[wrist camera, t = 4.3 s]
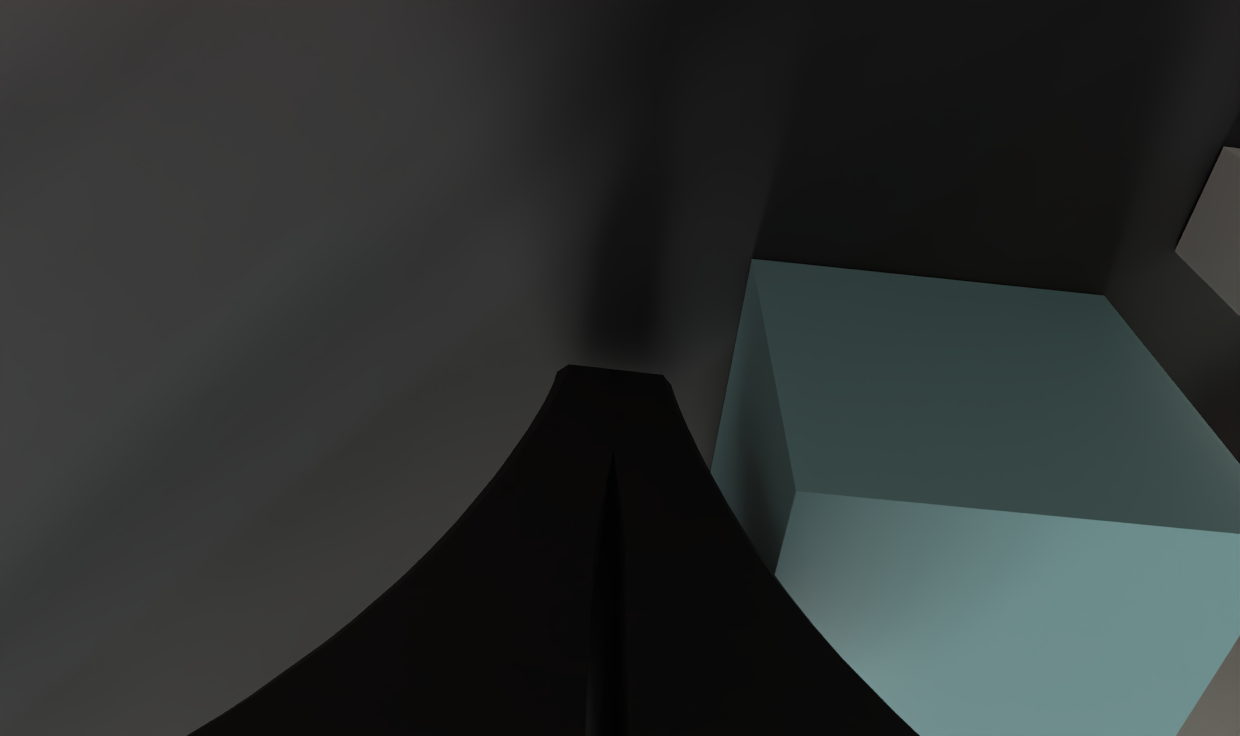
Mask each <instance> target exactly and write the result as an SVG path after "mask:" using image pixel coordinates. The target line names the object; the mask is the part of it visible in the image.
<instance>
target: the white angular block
mask: <svg viewBox="0 0 1240 736" xmlns="http://www.w3.org/2000/svg"><path fill="white" fill-rule="evenodd" d="M1175 252H1176V253H1177V254H1178V255H1179V256H1180V257H1181V258H1182V259H1183V260H1184V261H1185V262H1186V263H1187V264H1188V265H1189V266H1190V267H1191V268H1192V269H1193V270H1194V271H1195V272H1196V273H1197V274H1198V275H1199V276H1200V277H1201V278H1202V279H1203V280H1204V281H1205V282H1206V283H1207V284H1208V285H1209V286H1210V287H1211V288H1212V289H1213V290H1214V291H1215V292H1216V293H1217V294H1218V295H1219V296H1220V297H1221V298H1222V299H1223V300H1224V301H1225V302H1226V303H1227V304H1228V305H1229V306H1230V307H1231V308H1232V309H1233V310H1234V311H1235V312H1236V313H1237V314H1238V315H1239V316H1240V149H1239V148H1232V147H1223V149H1222V151H1221V153H1220V155H1219V158H1218V160H1217V162H1216V164H1215V166H1214V168H1213V170H1212V173H1211V175H1210V177H1209V179H1208V181H1207V183H1206V185H1205V187H1204V190H1203V192H1202V194H1201V196H1200V198H1199V200H1198V202H1197V205H1196V207H1195V209H1194V211H1193V213H1192V215H1191V217H1190V220H1189V222H1188V224H1187V226H1186V228H1185V230H1184V232H1183V235H1182V237H1181V239H1180V241H1179V243H1178V245H1177V247H1176V250H1175ZM1176 736H1240V636H1239V638H1238V639H1237V641H1236V642H1235V644H1234V645H1233V647H1232V649H1231V650H1230V652H1229V653H1228V655H1227V656H1226V658H1225V660H1224V661H1223V663H1222V664H1221V666H1220V667H1219V669H1218V671H1217V672H1216V674H1215V675H1214V677H1213V678H1212V680H1211V682H1210V683H1209V685H1208V686H1207V688H1206V689H1205V691H1204V692H1203V694H1202V696H1201V697H1200V699H1199V700H1198V702H1197V703H1196V705H1195V707H1194V708H1193V710H1192V711H1191V713H1190V714H1189V716H1188V718H1187V719H1186V721H1185V722H1184V724H1183V725H1182V727H1181V729H1180V730H1179V732H1178V733H1177V735H1176Z"/></svg>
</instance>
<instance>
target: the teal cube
mask: <svg viewBox="0 0 1240 736" xmlns="http://www.w3.org/2000/svg"><path fill="white" fill-rule="evenodd" d="M710 473H711V474H712V476H713V478H714V480H715V482H716V483H717V485H718V487H719V489H720V490H721V492H722V494H723V496H724V498H725V499H726V501H727V503H728V505H729V506H730V508H731V510H732V511H733V513H734V514H735V516H736V518H737V519H738V521H739V523H740V524H741V526H742V527H743V529H744V530H745V532H746V534H747V535H748V537H749V538H750V540H751V541H752V543H753V544H754V546H755V547H756V549H757V550H758V552H759V553H760V555H761V556H762V558H763V559H764V561H765V562H766V563H767V565H768V566H769V568H770V569H771V570H772V572H773V573H774V575H775V576H776V577H777V579H778V580H779V581H780V583H781V584H782V586H783V587H784V588H785V590H786V591H787V592H788V594H789V595H790V596H791V597H792V599H793V600H794V601H795V602H796V604H797V605H798V606H799V607H800V609H801V610H802V611H803V612H804V614H805V615H806V616H807V617H808V619H809V620H810V621H811V622H812V624H813V625H814V626H815V627H816V629H817V630H818V631H819V632H820V633H821V634H822V635H823V637H824V638H825V639H826V640H827V641H828V642H829V644H830V645H831V646H832V647H833V648H834V649H835V650H836V652H837V653H838V654H839V655H840V656H841V657H842V658H843V659H844V660H845V661H846V662H847V663H848V664H849V666H850V667H851V668H852V669H853V670H854V671H855V672H856V673H857V674H858V675H859V676H860V677H861V678H862V679H863V680H864V681H865V682H866V683H867V684H868V685H869V686H870V687H871V688H872V689H873V690H874V691H875V692H876V693H877V694H878V695H879V696H880V697H881V698H882V699H883V700H884V701H885V702H886V703H887V704H888V705H889V706H890V708H891V709H892V710H893V711H894V712H895V713H896V714H898V715H899V716H900V717H901V718H902V719H903V720H904V721H905V722H906V723H907V724H908V725H909V726H910V727H911V728H912V729H913V730H914V731H915V732H917V733H918V734H919V735H920V736H1176V735H1177V733H1178V732H1179V730H1180V729H1181V727H1182V725H1183V724H1184V722H1185V721H1186V719H1187V718H1188V716H1189V714H1190V713H1191V711H1192V710H1193V708H1194V707H1195V705H1196V703H1197V702H1198V700H1199V699H1200V697H1201V696H1202V694H1203V692H1204V691H1205V689H1206V688H1207V686H1208V685H1209V683H1210V682H1211V680H1212V678H1213V677H1214V675H1215V674H1216V672H1217V671H1218V669H1219V667H1220V666H1221V664H1222V663H1223V661H1224V660H1225V658H1226V656H1227V655H1228V653H1229V652H1230V650H1231V649H1232V647H1233V645H1234V644H1235V642H1236V641H1237V639H1238V638H1239V636H1240V464H1239V463H1238V461H1237V460H1236V459H1235V458H1234V456H1233V455H1232V454H1231V453H1230V451H1229V450H1228V449H1227V448H1226V446H1225V445H1224V444H1223V443H1222V441H1221V440H1220V439H1219V438H1218V436H1217V435H1216V434H1215V433H1214V431H1213V430H1212V429H1211V428H1210V426H1209V425H1208V424H1207V423H1206V422H1205V420H1204V419H1203V418H1202V417H1201V415H1200V414H1199V413H1198V412H1197V410H1196V409H1195V408H1194V407H1193V405H1192V404H1191V403H1190V402H1189V400H1188V399H1187V398H1186V397H1185V395H1184V394H1183V393H1182V392H1181V390H1180V389H1179V388H1178V387H1177V385H1176V384H1175V383H1174V382H1173V380H1172V379H1171V378H1170V377H1169V375H1168V374H1167V373H1166V372H1165V370H1164V369H1163V368H1162V367H1161V366H1160V364H1159V363H1158V362H1157V361H1156V359H1155V358H1154V357H1153V356H1152V354H1151V353H1150V352H1149V351H1148V349H1147V348H1146V347H1145V346H1144V344H1143V343H1142V342H1141V341H1140V339H1139V338H1138V337H1137V336H1136V334H1135V333H1134V332H1133V331H1132V329H1131V328H1130V327H1129V326H1128V324H1127V323H1126V322H1125V321H1124V319H1123V318H1122V317H1121V316H1120V315H1119V313H1118V312H1117V311H1116V310H1115V308H1114V307H1113V306H1112V305H1111V303H1110V302H1109V301H1108V300H1107V298H1106V297H1105V296H1103V295H1094V294H1084V293H1075V292H1065V291H1055V290H1046V289H1036V288H1027V287H1017V286H1008V285H998V284H988V283H979V282H969V281H960V280H950V279H940V278H931V277H921V276H912V275H902V274H892V273H883V272H873V271H864V270H854V269H844V268H835V267H825V266H816V265H806V264H797V263H787V262H777V261H768V260H758V259H752V260H751V265H750V271H749V276H748V281H747V286H746V291H745V296H744V302H743V307H742V312H741V317H740V322H739V327H738V333H737V338H736V343H735V348H734V353H733V358H732V364H731V369H730V374H729V379H728V384H727V389H726V394H725V400H724V405H723V410H722V415H721V420H720V425H719V431H718V436H717V441H716V446H715V451H714V456H713V462H712V467H711V472H710Z"/></svg>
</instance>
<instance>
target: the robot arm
mask: <svg viewBox="0 0 1240 736" xmlns="http://www.w3.org/2000/svg"><path fill="white" fill-rule="evenodd" d="M187 736H920V735H919V734H918V733H917V732H915V731H914V730H913V729H912V728H911V727H910V726H909V725H908V724H907V723H906V722H905V721H904V720H903V719H902V718H901V717H900V716H899V715H898V714H896V713H895V712H894V711H893V710H892V709H891V708H890V706H889V705H888V704H887V703H886V702H885V701H884V700H883V699H882V698H881V697H880V696H879V695H878V694H877V693H876V692H875V691H874V690H873V689H872V688H871V687H870V686H869V685H868V684H867V683H866V682H865V681H864V680H863V679H862V678H861V677H860V676H859V675H858V674H857V673H856V672H855V671H854V670H853V669H852V668H851V667H850V666H849V664H848V663H847V662H846V661H845V660H844V659H843V658H842V657H841V656H840V655H839V654H838V653H837V652H836V650H835V649H834V648H833V647H832V646H831V645H830V644H829V642H828V641H827V640H826V639H825V638H824V637H823V635H822V634H821V633H820V632H819V631H818V630H817V629H816V627H815V626H814V625H813V624H812V622H811V621H810V620H809V619H808V617H807V616H806V615H805V614H804V612H803V611H802V610H801V609H800V607H799V606H798V605H797V604H796V602H795V601H794V600H793V599H792V597H791V596H790V595H789V594H788V592H787V591H786V590H785V588H784V587H783V586H782V584H781V583H780V581H779V580H778V579H777V577H776V576H775V575H774V573H773V572H772V570H771V569H770V568H769V566H768V565H767V563H766V562H765V561H764V559H763V558H762V556H761V555H760V553H759V552H758V550H757V549H756V547H755V546H754V544H753V543H752V541H751V540H750V538H749V537H748V535H747V534H746V532H745V530H744V529H743V527H742V526H741V524H740V523H739V521H738V519H737V518H736V516H735V514H734V513H733V511H732V510H731V508H730V506H729V505H728V503H727V501H726V499H725V498H724V496H723V494H722V492H721V490H720V489H719V487H718V485H717V483H716V482H715V480H714V478H713V476H712V474H711V473H710V471H709V469H708V467H707V465H706V463H705V462H704V460H703V458H702V456H701V454H700V452H699V450H698V448H697V446H696V444H695V442H694V439H693V437H692V435H691V433H690V431H689V429H688V427H687V425H686V422H685V420H684V418H683V416H682V413H681V411H680V408H679V406H678V403H677V401H676V398H675V395H674V393H673V390H672V386H671V384H670V383H669V382H668V381H667V379H666V378H665V377H664V376H663V375H658V374H649V373H640V372H631V371H622V370H614V369H605V368H596V367H587V366H578V365H569V364H568V365H567V366H565V367H564V368H562V369H561V370H559V371H558V372H557V374H556V377H555V380H554V383H553V385H552V387H551V390H550V392H549V394H548V396H547V398H546V400H545V402H544V403H543V405H542V407H541V409H540V410H539V412H538V414H537V415H536V417H535V419H534V420H533V422H532V423H531V425H530V427H529V428H528V430H527V431H526V433H525V434H524V436H523V437H522V439H521V440H520V441H519V443H518V444H517V446H516V447H515V448H514V450H513V451H512V453H511V454H510V456H509V457H508V458H507V460H506V461H505V463H504V464H503V465H502V467H501V468H500V470H499V471H498V472H497V473H496V475H495V476H494V477H493V479H492V480H491V481H490V482H489V483H488V485H487V486H486V487H485V488H484V489H483V491H482V492H481V493H480V494H479V495H478V497H477V498H476V499H475V500H474V501H473V503H472V504H471V505H470V506H469V507H468V509H467V510H466V511H465V512H464V513H463V515H462V516H461V517H460V518H459V519H458V520H457V521H456V523H455V524H454V525H453V526H452V527H451V528H450V529H449V530H448V531H447V532H446V533H445V534H444V536H443V537H442V538H441V539H440V540H439V541H438V542H437V543H436V544H435V545H434V546H433V547H432V548H431V549H430V550H429V551H428V552H427V553H426V554H425V555H424V556H423V557H422V558H421V559H420V560H419V561H418V562H417V563H416V564H415V565H414V566H413V567H412V568H411V569H410V570H409V571H408V572H407V573H406V574H405V575H404V576H402V577H401V578H400V579H399V580H398V581H397V582H396V583H395V584H394V585H392V586H391V587H390V588H389V589H388V590H387V591H386V592H384V593H383V594H382V595H381V596H380V597H379V598H378V599H376V600H375V601H374V602H373V603H372V604H371V605H370V606H368V607H367V608H366V609H365V610H364V611H363V612H361V613H360V614H359V615H358V616H357V617H356V618H355V619H353V620H352V621H351V622H350V623H348V624H347V625H346V626H345V627H343V628H342V629H341V630H340V631H338V632H337V633H336V634H335V635H333V636H332V637H331V638H330V639H328V640H327V641H326V642H324V643H323V644H322V645H320V646H319V647H318V648H316V649H315V650H313V651H312V652H311V653H309V654H308V655H306V656H305V657H304V658H302V659H301V660H300V661H298V662H297V663H295V664H294V665H293V666H291V667H290V668H288V669H287V670H286V671H284V672H283V673H281V674H280V675H279V676H277V677H276V678H274V679H273V680H272V681H270V682H269V683H267V684H266V685H265V686H263V687H262V688H260V689H259V690H258V691H256V692H255V693H253V694H252V695H251V696H249V697H248V698H246V699H245V700H243V701H242V702H240V703H239V704H237V705H236V706H234V707H233V708H231V709H230V710H228V711H226V712H225V713H223V714H222V715H220V716H219V717H217V718H215V719H214V720H212V721H210V722H209V723H207V724H205V725H204V726H202V727H200V728H199V729H197V730H195V731H194V732H192V733H190V734H189V735H187Z"/></svg>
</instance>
